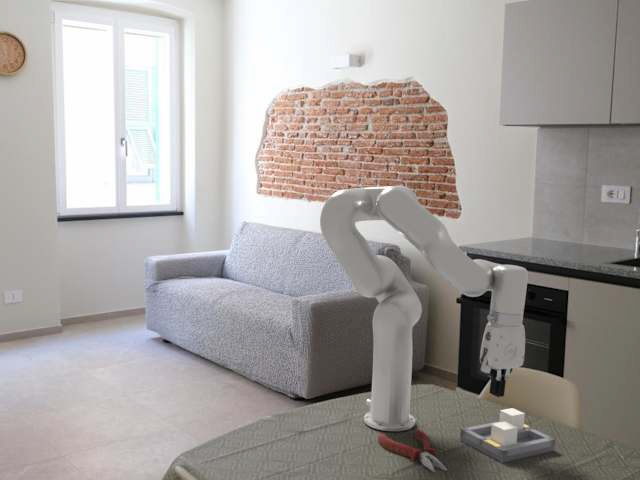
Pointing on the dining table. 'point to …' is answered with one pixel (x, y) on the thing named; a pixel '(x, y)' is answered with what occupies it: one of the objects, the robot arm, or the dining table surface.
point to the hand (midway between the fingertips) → (496, 394)
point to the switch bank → (526, 446)
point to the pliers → (414, 450)
